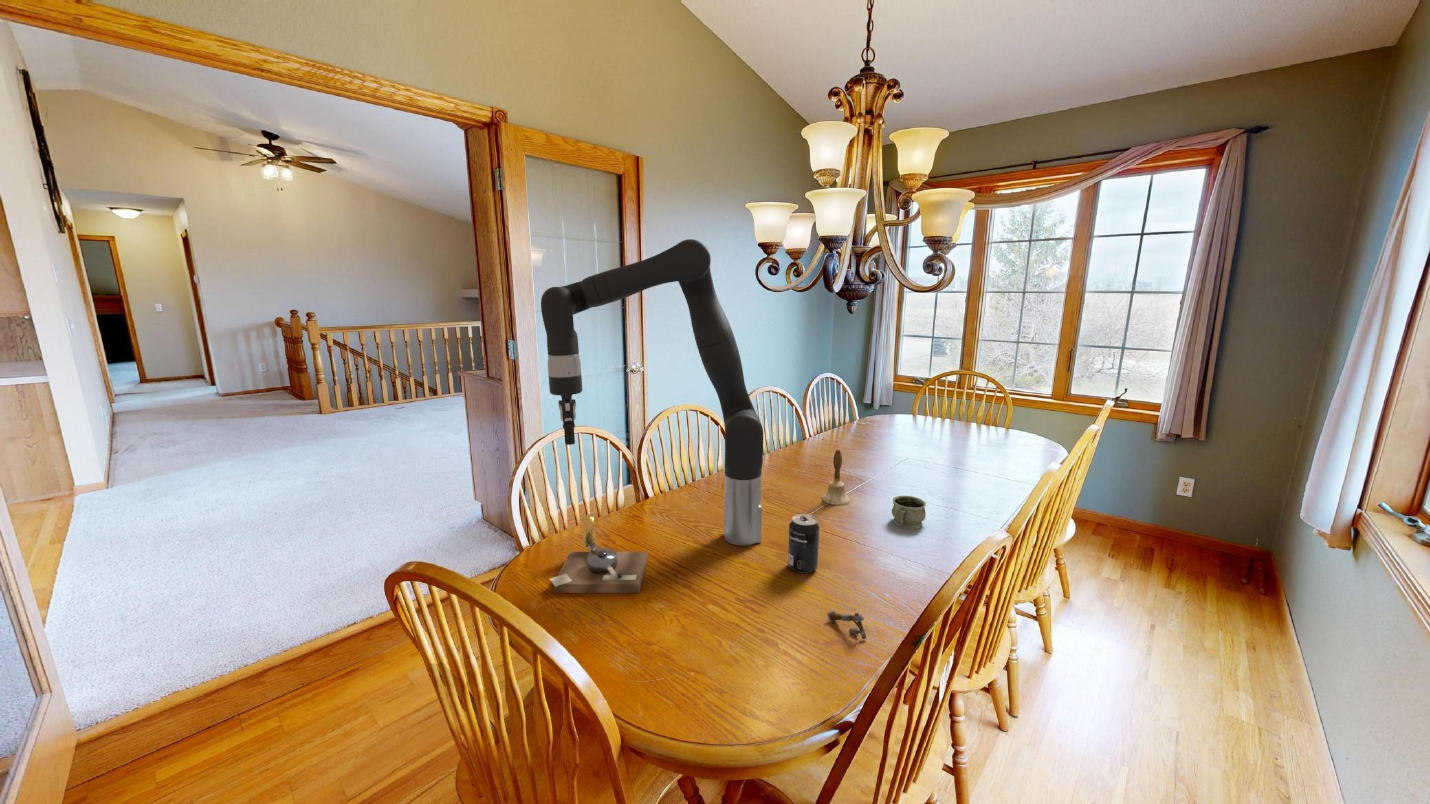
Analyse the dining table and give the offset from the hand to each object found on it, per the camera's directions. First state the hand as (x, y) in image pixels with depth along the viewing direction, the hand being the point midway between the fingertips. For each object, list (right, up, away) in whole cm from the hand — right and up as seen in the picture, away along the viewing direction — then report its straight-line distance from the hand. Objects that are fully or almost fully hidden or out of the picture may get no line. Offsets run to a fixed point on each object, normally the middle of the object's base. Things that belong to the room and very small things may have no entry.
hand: (569, 439), depth 127 cm
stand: (+10, -29, -10) cm, 33 cm away
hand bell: (+72, -21, +32) cm, 82 cm away
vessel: (+88, -24, +17) cm, 93 cm away
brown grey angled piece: (+60, -34, -28) cm, 75 cm away
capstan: (+9, -27, -9) cm, 30 cm away
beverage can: (+55, -29, -7) cm, 63 cm away
